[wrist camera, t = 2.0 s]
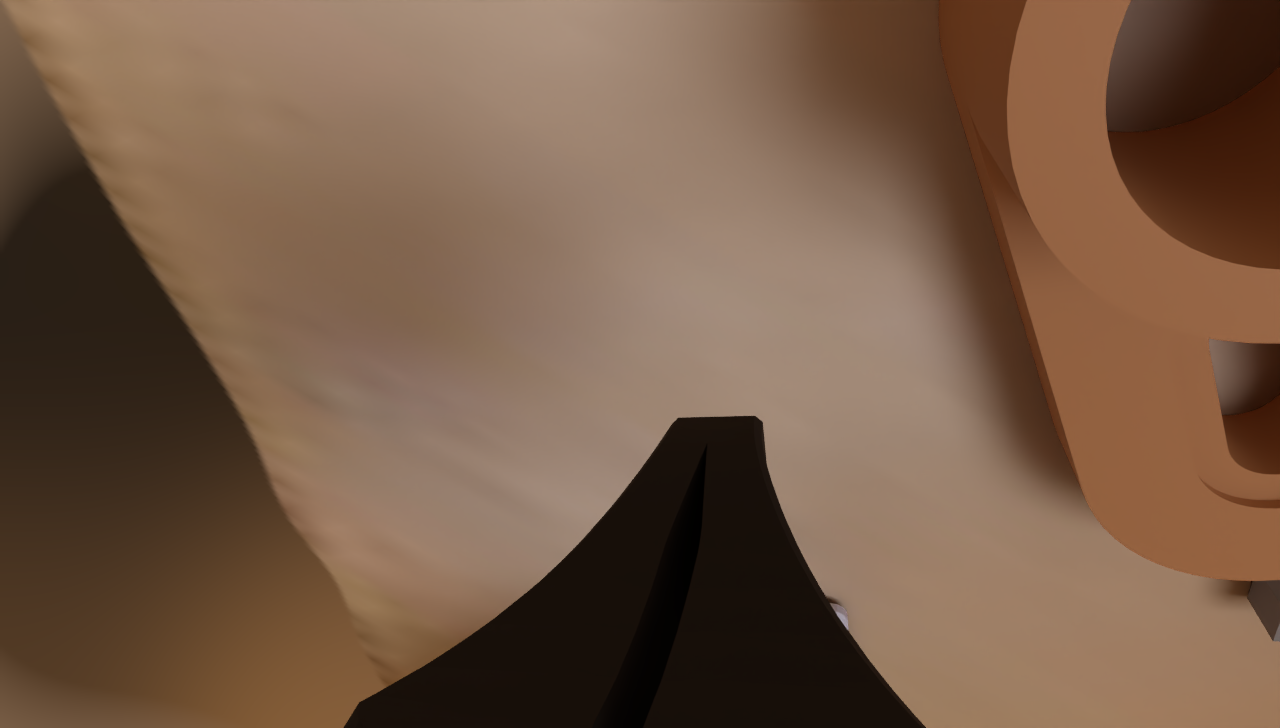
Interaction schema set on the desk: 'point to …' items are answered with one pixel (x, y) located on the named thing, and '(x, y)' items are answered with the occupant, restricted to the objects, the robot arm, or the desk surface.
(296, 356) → the desk surface
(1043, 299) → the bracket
